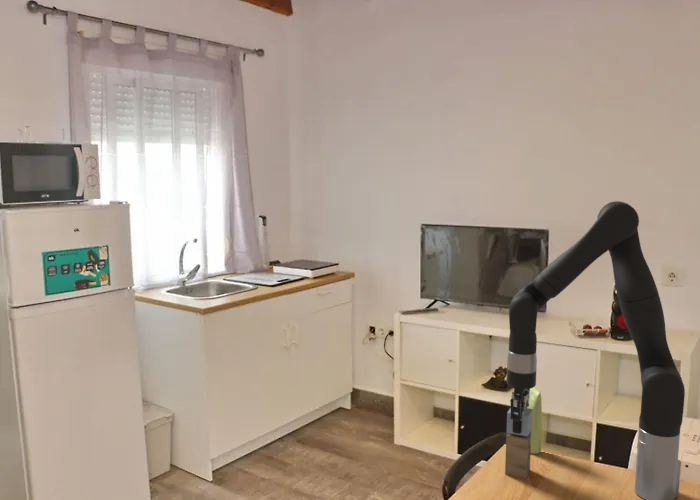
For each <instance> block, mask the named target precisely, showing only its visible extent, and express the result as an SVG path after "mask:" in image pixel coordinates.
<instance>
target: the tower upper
mask: <svg viewBox="0 0 700 500" xmlns="http://www.w3.org/2000/svg"><path fill="white" fill-rule="evenodd" d="M505 437H506V438H505V456H506V455H507V456H512V457H517V458H522V459H527V457H528V455H529V453H530V451H531V431H530V433H529V435H528V436H523V435H517V434H512V433H506V436H505Z"/></svg>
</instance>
